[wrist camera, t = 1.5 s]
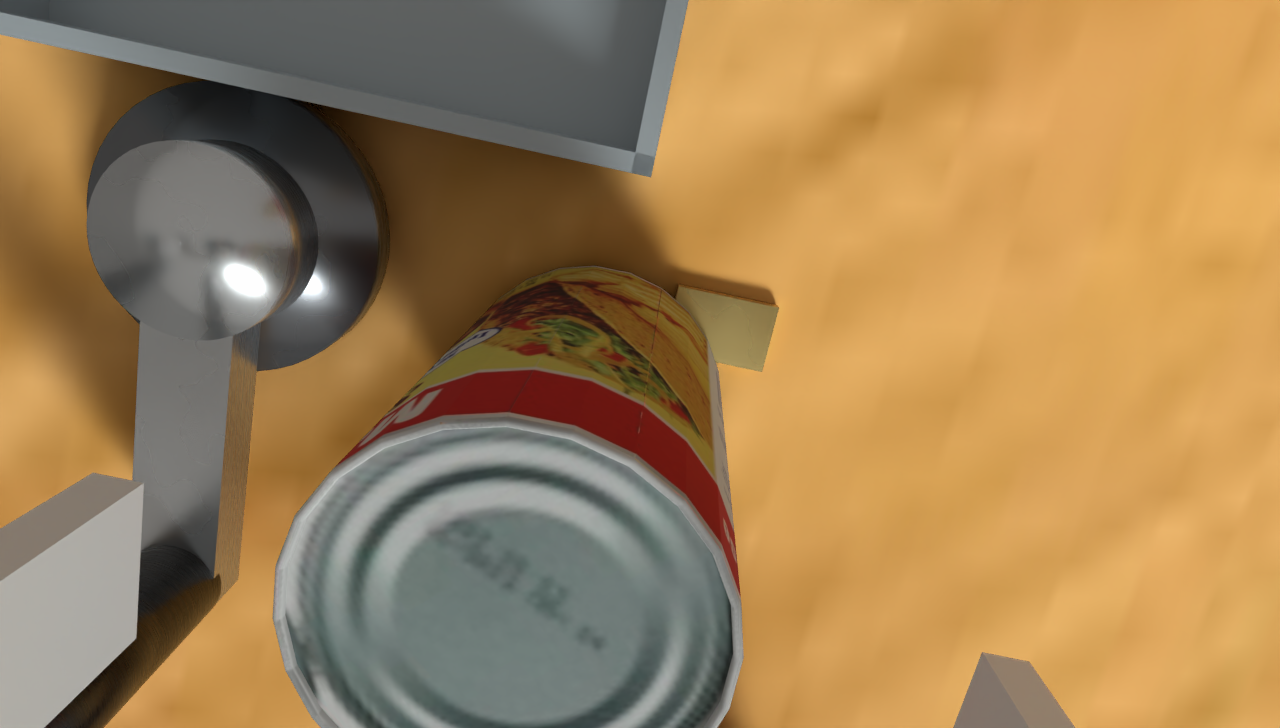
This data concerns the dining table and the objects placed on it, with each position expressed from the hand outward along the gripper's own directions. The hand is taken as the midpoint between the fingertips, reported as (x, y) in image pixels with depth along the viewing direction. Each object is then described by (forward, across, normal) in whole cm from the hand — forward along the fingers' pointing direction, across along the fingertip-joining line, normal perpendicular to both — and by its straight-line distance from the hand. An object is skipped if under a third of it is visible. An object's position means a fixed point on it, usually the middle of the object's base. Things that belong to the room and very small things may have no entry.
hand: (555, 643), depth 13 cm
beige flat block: (+13, +3, +3) cm, 13 cm away
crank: (+11, -11, -2) cm, 16 cm away
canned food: (+13, 0, 0) cm, 13 cm away
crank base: (+13, -11, +3) cm, 17 cm away
